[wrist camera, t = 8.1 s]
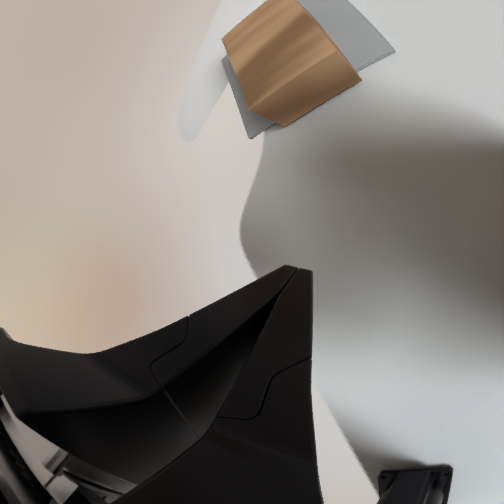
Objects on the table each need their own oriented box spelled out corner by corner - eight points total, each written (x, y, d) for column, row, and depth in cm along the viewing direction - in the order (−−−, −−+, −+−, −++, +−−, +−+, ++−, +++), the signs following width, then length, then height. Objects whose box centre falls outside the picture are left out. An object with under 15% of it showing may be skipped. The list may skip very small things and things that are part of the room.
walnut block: (336, 50, 12) (283, -11, 13) (249, 110, 16) (221, 38, 18) (361, 80, 15) (311, 14, 16) (284, 126, 19) (253, 56, 21)
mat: (395, 52, 13) (393, 49, 13) (251, 139, 22) (248, 138, 22) (328, -16, 15) (326, -18, 14) (224, 61, 24) (221, 60, 23)
